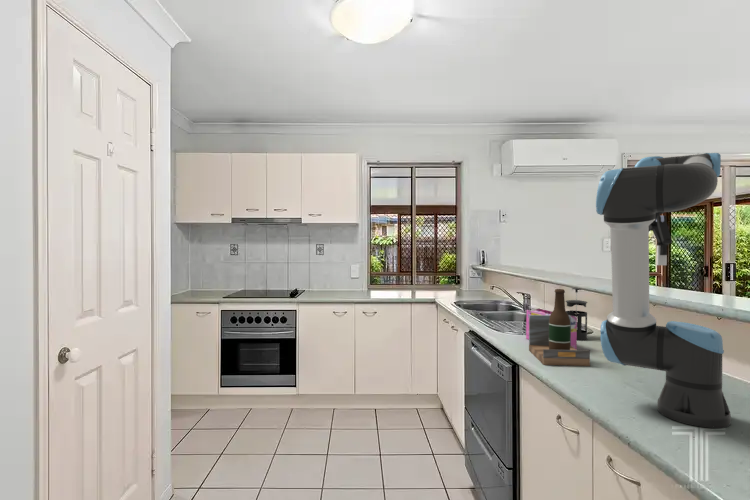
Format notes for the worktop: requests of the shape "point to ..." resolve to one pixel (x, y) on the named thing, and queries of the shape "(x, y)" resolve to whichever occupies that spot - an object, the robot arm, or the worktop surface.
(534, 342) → the shelf
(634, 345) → the robot arm
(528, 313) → the gum box
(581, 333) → the french press
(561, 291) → the beer bottle
